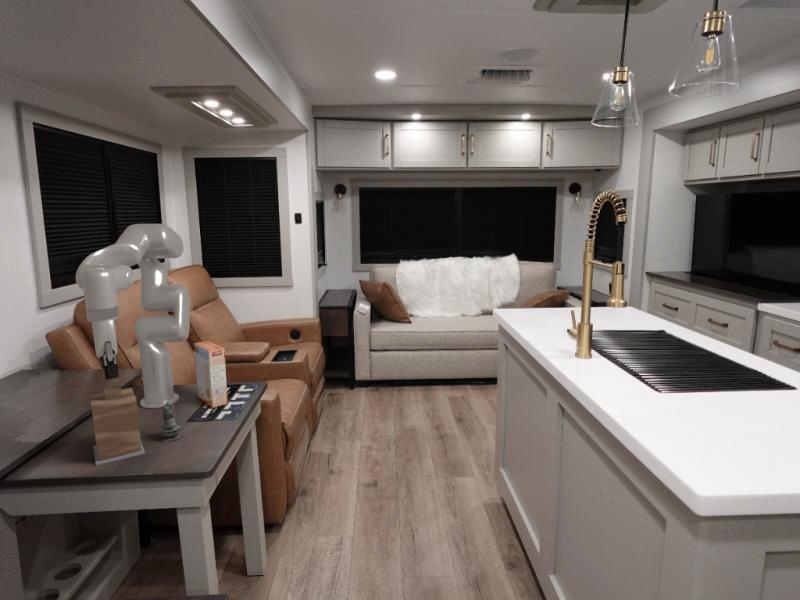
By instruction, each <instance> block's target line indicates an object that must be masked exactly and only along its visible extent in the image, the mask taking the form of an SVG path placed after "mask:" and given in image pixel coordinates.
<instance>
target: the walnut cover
mask: <svg viewBox="0 0 800 600" xmlns="http://www.w3.org/2000/svg"><path fill="white" fill-rule="evenodd" d="M101 382H102V390H103V391H102V392H99V393H93V394H90V395H89V399H90V406H91V416H92V423H93V430H94V431H93V432H94V438H95V446H96V447H97V453H98V460H99V461H103V460H107V459H111V458H115V457H119V456H123V455H127V454H131V453H135V452H139V451H142V448H141V442H142V440H141V430H140V419H139V414H138V413H139V411H138V403H137V396H136V395H135V393H134V389H133V387H127V388H121V381H120V376H119V377H118V378H113V379H105V374H104V375H101Z"/></svg>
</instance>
